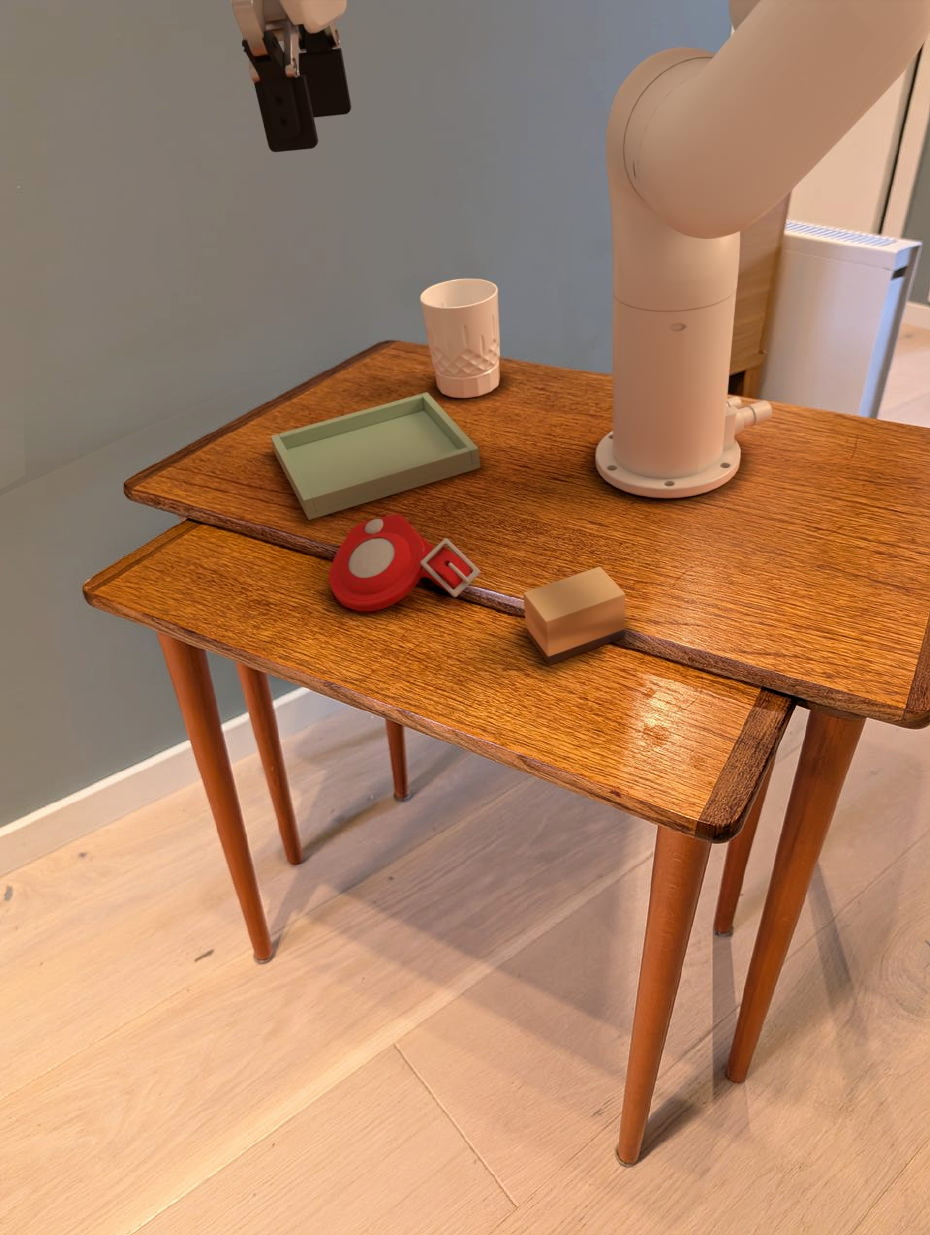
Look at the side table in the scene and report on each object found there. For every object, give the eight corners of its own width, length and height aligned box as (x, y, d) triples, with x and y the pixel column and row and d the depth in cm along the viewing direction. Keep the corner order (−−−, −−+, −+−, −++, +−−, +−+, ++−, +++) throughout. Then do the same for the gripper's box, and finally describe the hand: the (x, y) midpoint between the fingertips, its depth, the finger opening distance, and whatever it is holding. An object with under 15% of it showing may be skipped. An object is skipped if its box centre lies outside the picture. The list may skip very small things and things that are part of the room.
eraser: (600, 609, 66) (599, 565, 63) (625, 637, 63) (625, 593, 61) (526, 635, 64) (522, 592, 62) (548, 665, 62) (545, 621, 59)
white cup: (480, 406, 92) (470, 311, 86) (418, 394, 96) (404, 302, 90) (518, 375, 97) (512, 282, 91) (458, 364, 101) (447, 275, 95)
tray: (430, 410, 93) (427, 391, 92) (480, 468, 83) (478, 448, 82) (275, 454, 89) (270, 435, 88) (308, 520, 79) (303, 500, 78)
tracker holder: (319, 613, 67) (323, 515, 73) (345, 644, 70) (346, 548, 76) (473, 571, 64) (463, 473, 70) (492, 605, 68) (481, 509, 74)
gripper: (265, -226, 43) (337, 159, 54) (344, -209, 56) (390, 99, 67) (122, -201, 45) (220, 170, 56) (232, -190, 58) (294, 109, 69)
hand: (313, 131), depth 61 cm, fingers open, 9 cm apart
